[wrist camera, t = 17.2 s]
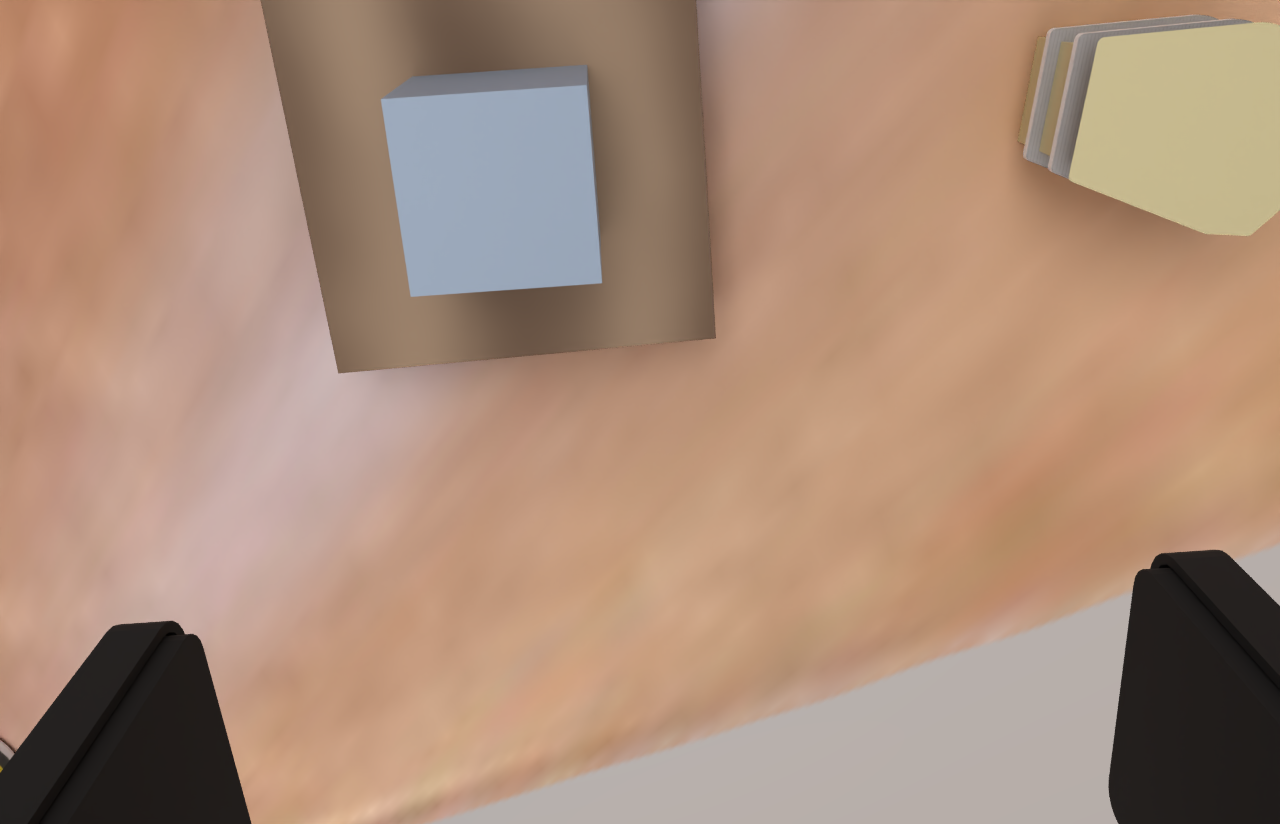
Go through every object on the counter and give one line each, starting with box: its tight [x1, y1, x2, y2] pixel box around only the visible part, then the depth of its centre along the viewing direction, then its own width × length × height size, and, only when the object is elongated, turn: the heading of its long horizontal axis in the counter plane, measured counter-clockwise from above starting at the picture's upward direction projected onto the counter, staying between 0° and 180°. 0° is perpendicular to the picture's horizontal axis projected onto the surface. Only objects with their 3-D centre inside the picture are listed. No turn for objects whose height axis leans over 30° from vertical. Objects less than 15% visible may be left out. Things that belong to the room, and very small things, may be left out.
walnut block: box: [261, 0, 716, 373], centre depth 34 cm, size 12×12×4 cm
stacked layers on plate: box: [1018, 15, 1280, 236], centre depth 33 cm, size 10×9×6 cm
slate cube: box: [381, 65, 602, 297], centre depth 30 cm, size 5×5×5 cm
